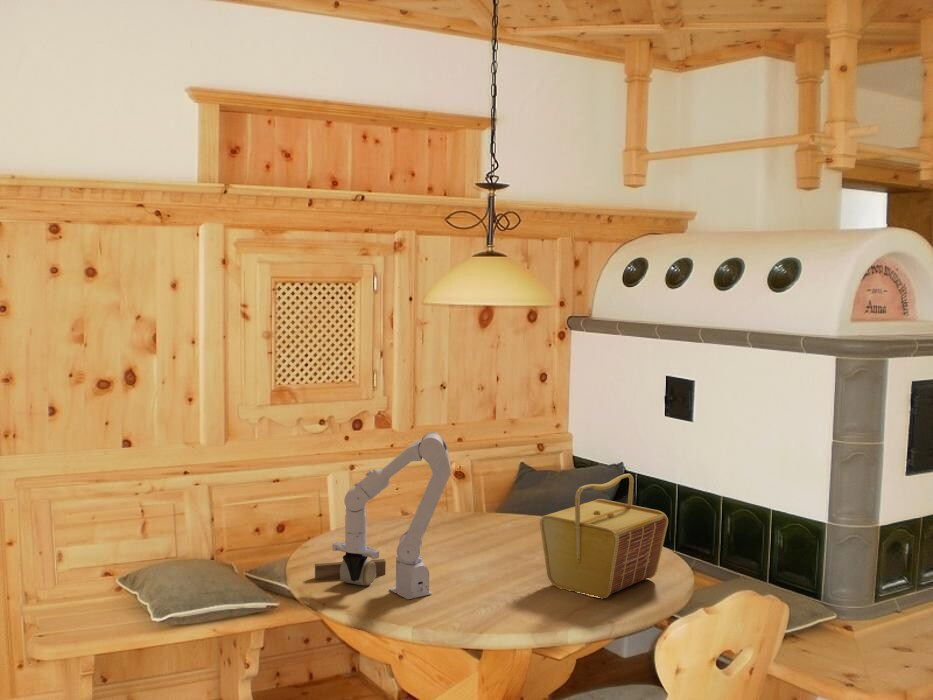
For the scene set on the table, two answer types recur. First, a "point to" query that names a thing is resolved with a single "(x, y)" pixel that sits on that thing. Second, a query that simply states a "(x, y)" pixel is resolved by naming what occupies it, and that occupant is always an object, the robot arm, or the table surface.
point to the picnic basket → (602, 543)
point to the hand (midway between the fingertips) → (355, 580)
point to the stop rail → (334, 569)
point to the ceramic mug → (365, 577)
